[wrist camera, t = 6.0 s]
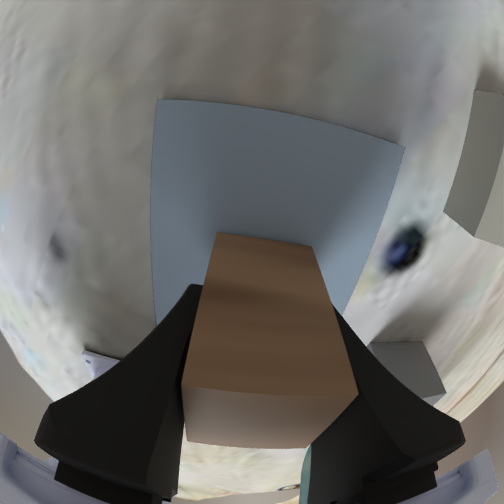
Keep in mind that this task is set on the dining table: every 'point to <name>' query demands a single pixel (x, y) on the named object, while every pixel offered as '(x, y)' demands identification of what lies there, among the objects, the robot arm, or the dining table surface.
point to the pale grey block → (481, 172)
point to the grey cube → (410, 367)
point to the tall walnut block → (264, 349)
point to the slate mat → (262, 191)
